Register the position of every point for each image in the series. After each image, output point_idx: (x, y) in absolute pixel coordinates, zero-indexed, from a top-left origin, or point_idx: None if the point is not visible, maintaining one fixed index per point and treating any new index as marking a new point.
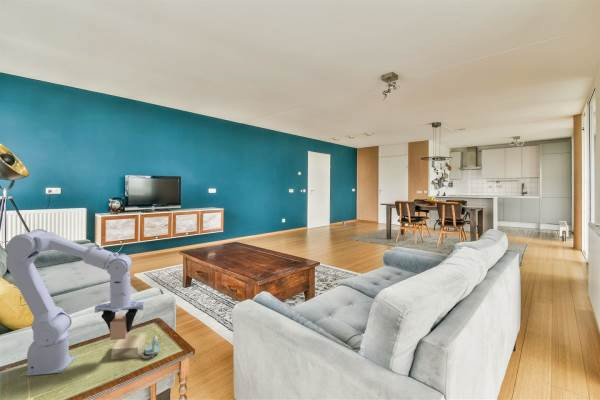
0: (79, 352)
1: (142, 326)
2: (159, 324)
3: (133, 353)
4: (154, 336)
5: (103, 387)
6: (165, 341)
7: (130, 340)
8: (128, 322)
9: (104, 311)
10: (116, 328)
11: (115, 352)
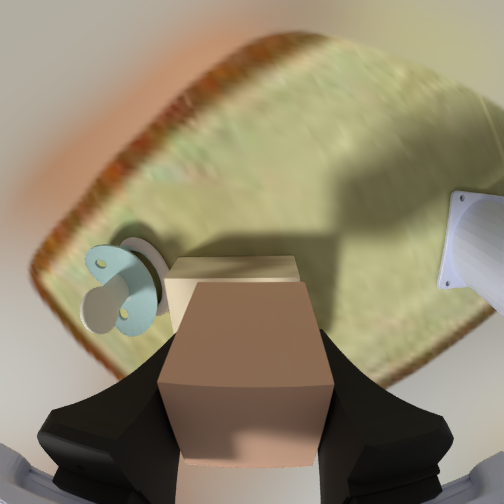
0: (428, 314)
1: None
2: None
3: (192, 264)
4: (87, 320)
5: (241, 56)
6: (121, 347)
7: None
8: (144, 377)
9: (428, 490)
10: (261, 337)
11: (278, 269)
